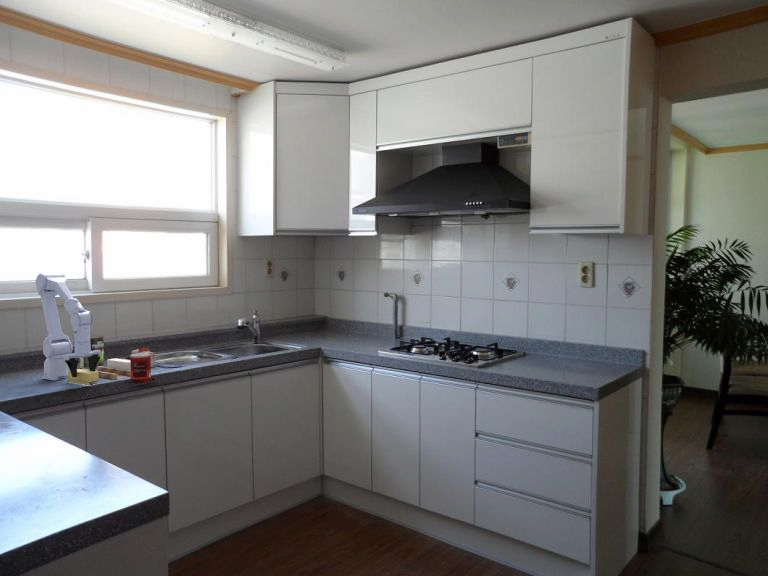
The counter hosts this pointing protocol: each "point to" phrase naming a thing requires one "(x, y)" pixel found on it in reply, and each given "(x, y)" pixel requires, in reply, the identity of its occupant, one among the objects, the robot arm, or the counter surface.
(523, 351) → the counter surface
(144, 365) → the canned food
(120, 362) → the white bar
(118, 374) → the slot board
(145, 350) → the food item
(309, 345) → the counter surface
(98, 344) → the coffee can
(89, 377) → the pale yellow bar
